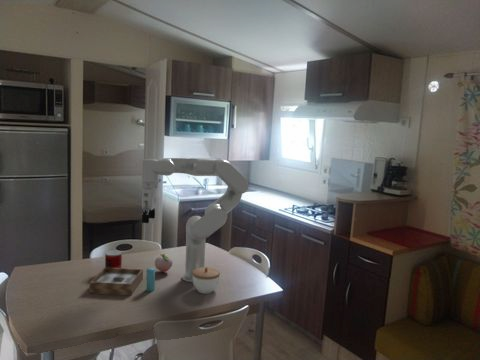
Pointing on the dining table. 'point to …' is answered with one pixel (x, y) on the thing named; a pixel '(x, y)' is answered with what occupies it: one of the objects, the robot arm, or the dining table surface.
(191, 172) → the robot arm
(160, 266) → the decorative fruit
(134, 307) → the dining table surface
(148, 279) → the peg
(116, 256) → the canned food
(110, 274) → the bore box
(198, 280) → the lidded bowl
